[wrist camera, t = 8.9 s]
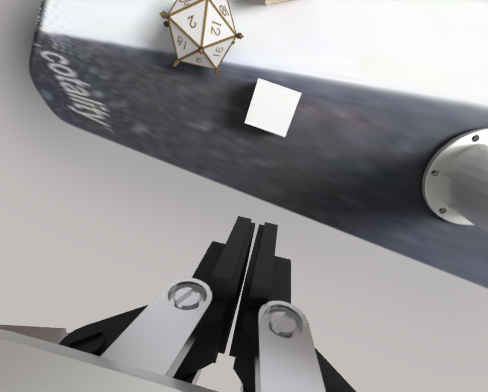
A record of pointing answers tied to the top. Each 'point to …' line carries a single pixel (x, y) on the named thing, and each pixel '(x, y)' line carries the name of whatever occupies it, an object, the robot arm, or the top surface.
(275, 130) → the white block
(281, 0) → the ash block
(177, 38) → the game die
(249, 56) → the top surface
